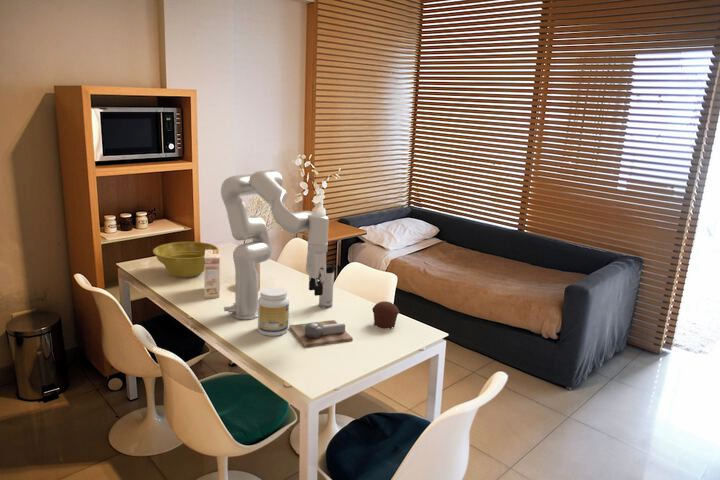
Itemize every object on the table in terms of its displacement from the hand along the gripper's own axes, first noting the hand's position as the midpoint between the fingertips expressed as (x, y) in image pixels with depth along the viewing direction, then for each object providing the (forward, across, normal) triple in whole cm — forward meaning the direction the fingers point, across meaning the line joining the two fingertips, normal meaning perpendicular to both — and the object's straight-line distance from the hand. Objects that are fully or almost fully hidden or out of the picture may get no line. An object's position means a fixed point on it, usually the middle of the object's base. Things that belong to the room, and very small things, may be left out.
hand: (315, 292), depth 204 cm
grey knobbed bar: (+18, 0, +5) cm, 18 cm away
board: (+19, -3, +4) cm, 20 cm away
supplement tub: (+20, -12, -13) cm, 26 cm away
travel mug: (+20, -32, +18) cm, 42 cm away
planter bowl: (+20, -95, -36) cm, 103 cm away
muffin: (+20, -4, +34) cm, 40 cm away
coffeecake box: (+20, -63, -28) cm, 72 cm away
